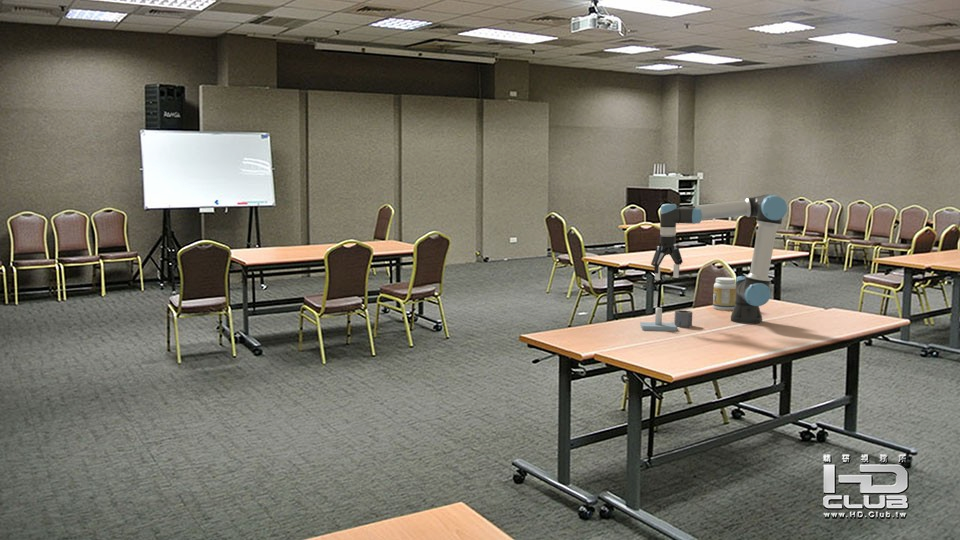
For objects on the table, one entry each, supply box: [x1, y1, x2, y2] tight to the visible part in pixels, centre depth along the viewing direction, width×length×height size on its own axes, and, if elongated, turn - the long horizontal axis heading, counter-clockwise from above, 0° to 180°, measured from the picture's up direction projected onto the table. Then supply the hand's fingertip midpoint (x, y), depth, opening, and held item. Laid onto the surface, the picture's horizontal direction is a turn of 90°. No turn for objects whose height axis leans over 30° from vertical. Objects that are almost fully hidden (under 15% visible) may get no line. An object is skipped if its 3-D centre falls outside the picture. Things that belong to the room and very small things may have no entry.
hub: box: [673, 309, 693, 328], centre depth 391 cm, size 8×8×7 cm
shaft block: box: [640, 307, 678, 332], centre depth 384 cm, size 16×10×10 cm, turn 84°
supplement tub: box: [712, 276, 736, 311], centre depth 440 cm, size 12×12×17 cm
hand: (666, 278), depth 392 cm, fingers open, 13 cm apart
